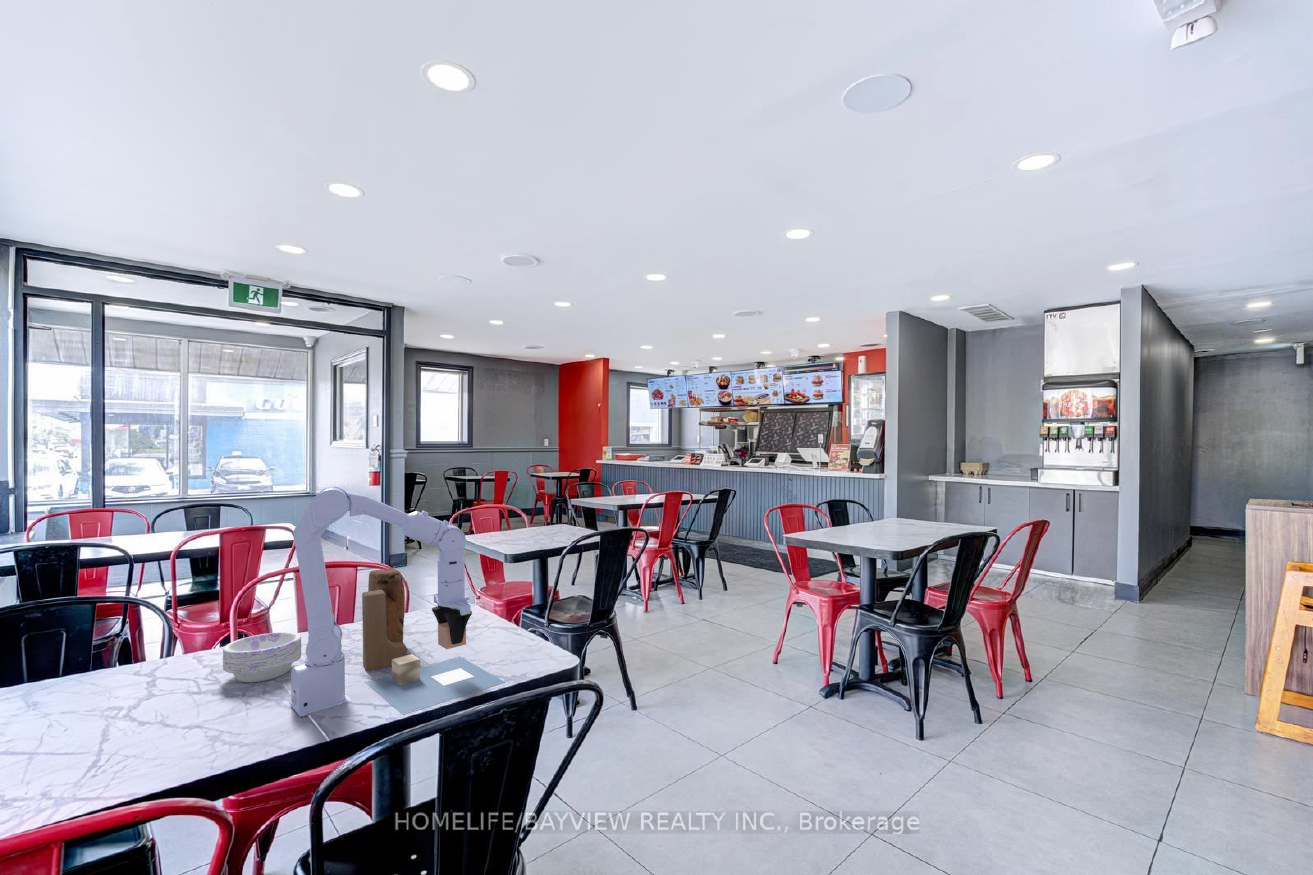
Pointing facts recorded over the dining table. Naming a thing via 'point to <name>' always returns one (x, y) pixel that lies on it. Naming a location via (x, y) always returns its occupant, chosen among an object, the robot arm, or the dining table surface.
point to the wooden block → (377, 633)
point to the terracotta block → (447, 637)
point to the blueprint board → (435, 685)
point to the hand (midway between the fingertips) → (452, 640)
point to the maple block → (405, 669)
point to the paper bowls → (262, 656)
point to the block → (391, 600)
